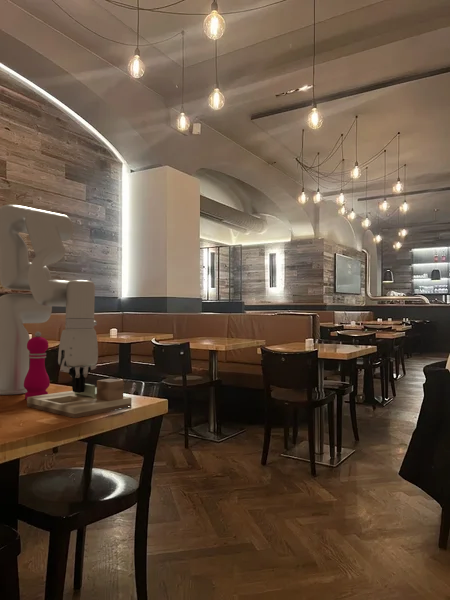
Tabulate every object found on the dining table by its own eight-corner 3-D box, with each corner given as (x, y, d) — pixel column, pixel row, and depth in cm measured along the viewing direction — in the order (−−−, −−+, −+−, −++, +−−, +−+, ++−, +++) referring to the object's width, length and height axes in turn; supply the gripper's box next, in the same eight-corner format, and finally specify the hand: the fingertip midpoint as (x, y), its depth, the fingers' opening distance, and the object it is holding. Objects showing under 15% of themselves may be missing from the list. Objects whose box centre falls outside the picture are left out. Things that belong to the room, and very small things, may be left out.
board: (26, 406, 124) (27, 397, 125) (83, 397, 139) (83, 389, 139) (74, 418, 111) (74, 407, 111) (131, 406, 125) (131, 397, 125)
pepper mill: (40, 401, 132) (41, 332, 133) (17, 399, 133) (19, 331, 134) (54, 396, 139) (55, 331, 140) (33, 395, 141) (34, 330, 141)
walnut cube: (96, 399, 123) (96, 380, 123) (111, 396, 127) (111, 378, 127) (108, 401, 120) (108, 382, 120) (123, 398, 124) (123, 380, 124)
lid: (74, 394, 129) (74, 382, 129) (102, 390, 137) (102, 379, 137) (94, 398, 123) (94, 386, 124) (122, 393, 131) (122, 382, 131)
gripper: (94, 324, 134) (92, 387, 133) (47, 325, 122) (45, 393, 121) (110, 325, 129) (109, 390, 128) (63, 325, 117) (61, 397, 117)
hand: (78, 391), depth 125 cm, fingers closed
